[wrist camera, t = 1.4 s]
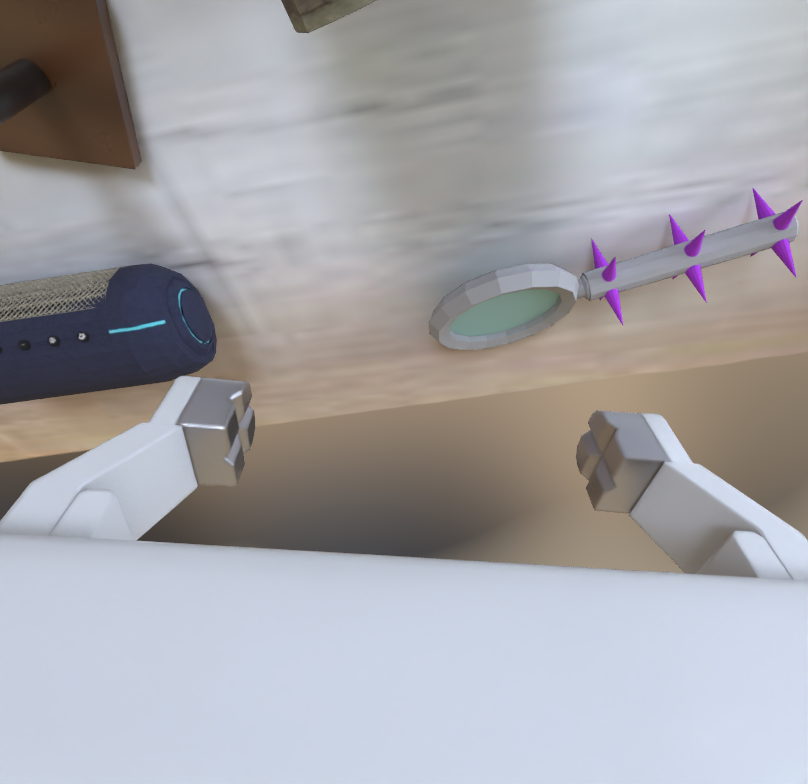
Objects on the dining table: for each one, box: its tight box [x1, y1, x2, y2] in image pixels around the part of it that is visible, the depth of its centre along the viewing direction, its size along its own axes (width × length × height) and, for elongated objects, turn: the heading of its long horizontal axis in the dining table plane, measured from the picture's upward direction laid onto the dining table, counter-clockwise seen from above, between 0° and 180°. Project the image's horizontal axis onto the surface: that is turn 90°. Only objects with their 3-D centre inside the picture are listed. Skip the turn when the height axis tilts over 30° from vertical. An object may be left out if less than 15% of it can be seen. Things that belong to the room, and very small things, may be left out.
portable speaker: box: [0, 264, 217, 404], centre depth 41 cm, size 25×10×10 cm, turn 97°
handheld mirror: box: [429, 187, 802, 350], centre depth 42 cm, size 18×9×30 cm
